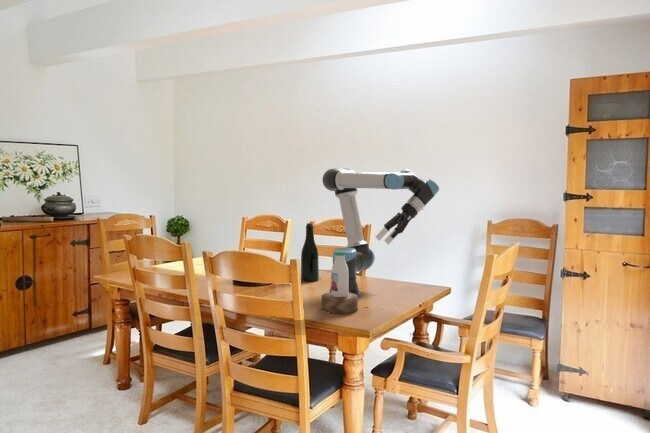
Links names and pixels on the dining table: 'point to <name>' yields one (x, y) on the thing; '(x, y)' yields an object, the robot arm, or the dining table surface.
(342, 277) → the milk bottle
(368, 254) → the robot arm
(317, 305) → the dining table surface
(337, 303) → the walnut stand
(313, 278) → the dark green wine bottle
